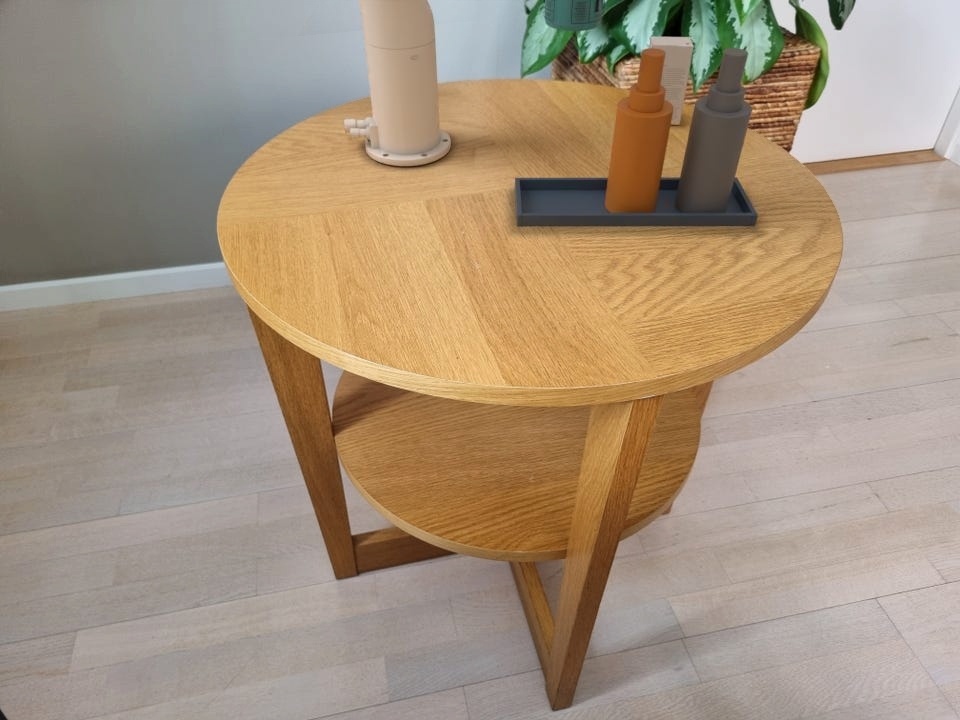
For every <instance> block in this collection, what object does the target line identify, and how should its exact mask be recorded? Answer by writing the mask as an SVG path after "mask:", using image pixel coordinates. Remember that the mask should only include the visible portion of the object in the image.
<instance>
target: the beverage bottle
mask: <svg viewBox="0 0 960 720" xmlns="http://www.w3.org/2000/svg"><path fill="white" fill-rule="evenodd" d="M543 5H544V6H543V12H542V13H543V14H542V15H543V17H544V22H545V25H547V26H548V27H550V28H551V29H555V30H559V31H563V32H584V31H590V30H594V29H596V28H598V27H599V26H600V25H601V24H602V23H601V22H602V19H603V18H604V17H605V16H604V15H605V13H604V12H605V11H604V10H605V6H606V0H543Z"/></svg>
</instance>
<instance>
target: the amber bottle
mask: <svg viewBox="0 0 960 720" xmlns="http://www.w3.org/2000/svg"><path fill="white" fill-rule="evenodd" d="M665 55H666V52H665V51H663V50H661V49H656V48H649V47H648V48H644V49H642V50H641V53H640V60H639V68H638V75H637V81H636V83H634V84H632V85H630V87H629V92H628V93H629V95H628V96H627V97H623V98H621V99H620V100H619V101H618V102H617V105H616V112H615V120H614V126H613V127H614V129H613V134H612V135H613V137H612V138H613V139H612V143H611V151H610V160H609V168H608V174H607V178H608V182H607V190H606V198H605V207H606V209H607V210H608V211H609V212H610V213H654V211H655V208H656V203H657V197H658V192H659V186H660V181H661V177H662V176H663V175H662V174H663V170H664V164H665V159H666V154H667V153H666V152H667V146H668V142H669V137H670V131H671V126H672V125H671V121H672V115H673V110H674V108H673V105H672V104H671V103H670V102H668V101H666V100H664V99H665V93H666V89H665V88H664V87H663V86H662V85H661V79H662V73H663V67H664V61H665Z"/></svg>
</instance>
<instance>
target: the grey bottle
mask: <svg viewBox="0 0 960 720" xmlns="http://www.w3.org/2000/svg"><path fill="white" fill-rule="evenodd" d="M748 56H749V52H748V51H747V50H745V49H742V48H737V47H727V48H725V49H724V50H723V52H722V56H721V62H720V66H719V71H718V75H717V80H716V82H713V83H711V84H710V85H709V87H708V92H707V95H705V96H702V97H699V98H698V99H696V101H695V102H694V107H693V110H692V116H691V121H690V126H689V131H688V136H687V141H686V147H685V152H684V155H683V161H682V166H681V171H680V175H679V177H680V180H679V185H678V190H677V195H676V200H675V206H676V208H677V209H678V210H679V211H680V212H682V213H725V212H726V209H727V205H728V201H729V198H730V194H731V190H732V186H733V182H734V178H735V177H736V174H737V170H738V166H739V163H740V159H741V154H742V151H743V147H744V144H745V140H746V136H747V132H748V128H749V124H750V120H751V116H752V113H753V106H752V105H751V104H750V103H749V102H747V101H745V100H744V99H745V95H746V92H747V89H746V87H744V86H743V85H742V81H743V77H744V72H745V68H746V64H747V60H748Z"/></svg>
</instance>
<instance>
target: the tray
mask: <svg viewBox="0 0 960 720" xmlns="http://www.w3.org/2000/svg"><path fill="white" fill-rule="evenodd" d="M679 180H680V176H679V177H676V176H675V177H672V176H671V177H662V176H661V181H660V186H659V192H658V197H657V203H656V208H655V211H654V213H610V212H609V211H608V210H607V209H606V207H605V198H606V190H607V182H608V177H515V178H514V197H515V198H514V199H515V215H516V216H515V217H516V227H756V224H757V220H758V218H759V214H758V213H757V210H756V209H755V207H754V205H753V204H752V201H751V200H750V198H749V196H748V194H747V193H746V191H745V189H744V186H743V185H742V184H741V182H740V180H739V178H738V177H737V176H735V178H734V182H733V186H732V190H731V194H730V198H729V201H728V205H727V209H726V212H725V213H682V212H680V211H679V210H678V209H677V208H676V206H675V200H676V195H677V190H678V185H679Z"/></svg>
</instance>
